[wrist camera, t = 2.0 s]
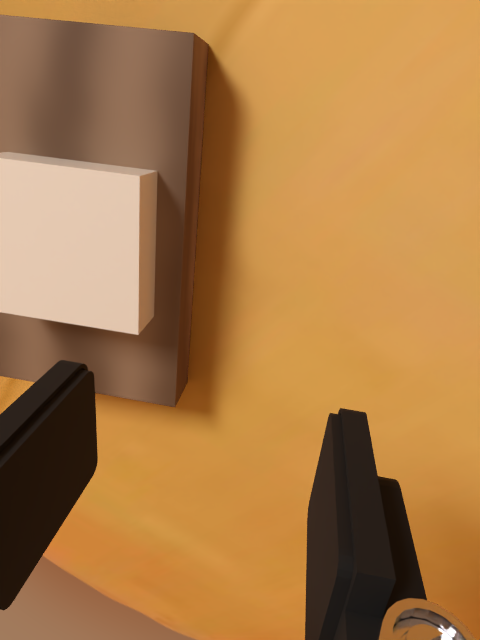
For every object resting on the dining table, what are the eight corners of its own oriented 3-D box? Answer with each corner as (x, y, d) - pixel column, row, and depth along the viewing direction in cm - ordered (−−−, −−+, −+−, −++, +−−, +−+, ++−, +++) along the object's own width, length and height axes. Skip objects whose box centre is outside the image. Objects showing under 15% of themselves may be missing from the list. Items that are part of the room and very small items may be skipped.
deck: (208, 44, 22) (193, 32, 20) (187, 382, 31) (174, 407, 28) (-14, 22, 24) (-56, 9, 21) (24, 353, 32) (-4, 375, 29)
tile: (157, 170, 22) (139, 175, 20) (153, 316, 26) (138, 334, 23) (8, 152, 23) (-26, 154, 21) (23, 295, 26) (-4, 311, 24)
